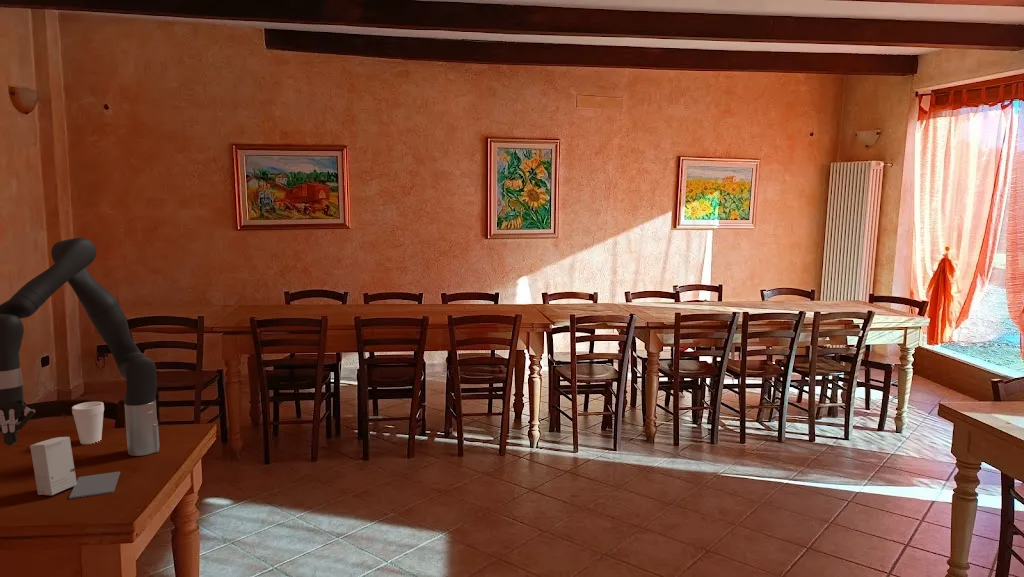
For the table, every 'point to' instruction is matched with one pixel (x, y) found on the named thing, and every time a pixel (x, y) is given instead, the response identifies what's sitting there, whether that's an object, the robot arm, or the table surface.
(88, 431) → the foam cup
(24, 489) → the table surface
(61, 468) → the skincare box
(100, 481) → the flat gray panel
